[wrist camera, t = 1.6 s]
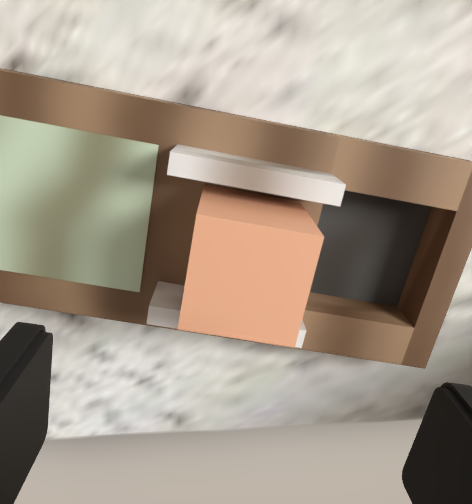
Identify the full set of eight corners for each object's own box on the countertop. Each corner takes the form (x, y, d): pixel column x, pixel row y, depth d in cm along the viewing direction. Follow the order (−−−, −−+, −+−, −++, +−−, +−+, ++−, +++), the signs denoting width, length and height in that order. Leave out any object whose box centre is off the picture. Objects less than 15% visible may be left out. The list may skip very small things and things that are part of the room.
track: (471, 160, 25) (541, 179, 20) (405, 341, 29) (449, 401, 23) (4, 68, 23) (-68, 60, 17) (1, 277, 27) (-59, 325, 21)
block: (300, 201, 23) (324, 236, 17) (278, 289, 24) (294, 347, 19) (204, 184, 22) (196, 213, 17) (189, 274, 24) (177, 329, 18)
